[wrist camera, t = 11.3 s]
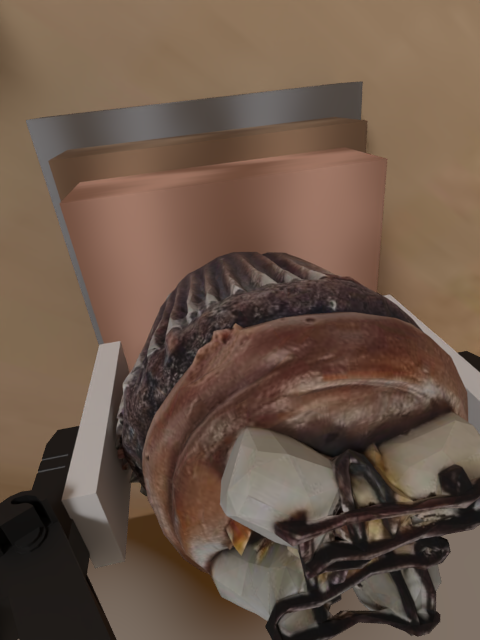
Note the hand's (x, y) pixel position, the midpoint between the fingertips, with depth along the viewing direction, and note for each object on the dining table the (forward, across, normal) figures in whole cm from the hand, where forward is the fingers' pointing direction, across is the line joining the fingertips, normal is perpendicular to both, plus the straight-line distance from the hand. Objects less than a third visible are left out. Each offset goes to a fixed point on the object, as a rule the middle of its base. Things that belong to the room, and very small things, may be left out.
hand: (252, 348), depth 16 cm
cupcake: (+1, 0, 0) cm, 1 cm away
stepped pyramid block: (+13, 0, 0) cm, 13 cm away
